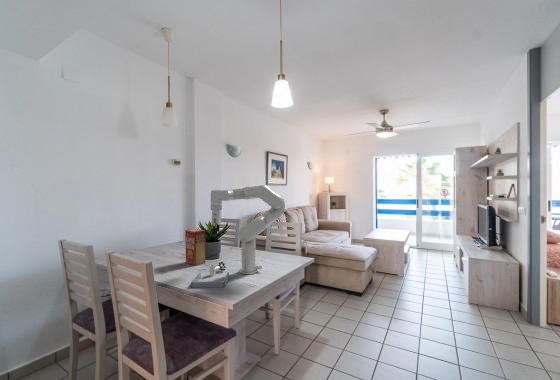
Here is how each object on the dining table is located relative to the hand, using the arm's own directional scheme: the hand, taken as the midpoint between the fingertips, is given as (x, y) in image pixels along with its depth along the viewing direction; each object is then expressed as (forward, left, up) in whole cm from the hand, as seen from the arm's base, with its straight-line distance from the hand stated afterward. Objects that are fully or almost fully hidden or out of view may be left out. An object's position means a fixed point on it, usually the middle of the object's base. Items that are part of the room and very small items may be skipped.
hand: (215, 232), depth 178 cm
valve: (-2, +6, -27) cm, 27 cm away
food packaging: (+19, -19, -26) cm, 38 cm away
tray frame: (-2, +21, -26) cm, 34 cm away
